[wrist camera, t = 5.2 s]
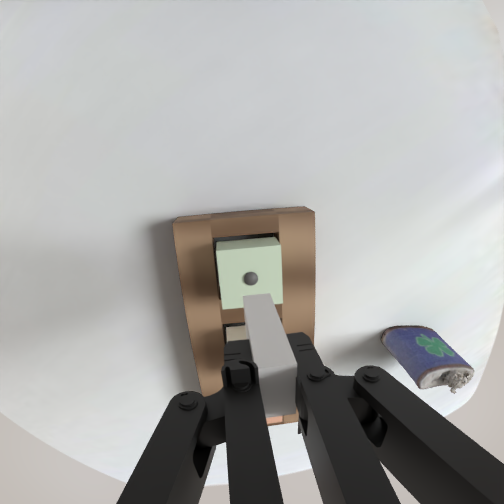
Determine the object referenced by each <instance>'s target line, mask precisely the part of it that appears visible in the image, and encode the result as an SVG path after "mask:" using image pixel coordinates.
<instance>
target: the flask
mask: <svg viewBox="0 0 504 504" xmlns="http://www.w3.org/2000/svg"><path fill="white" fill-rule="evenodd" d="M384 334H385V335H384ZM383 335H384V336H383ZM383 335H382V339H381V341H382V343H383V344H384V346H386V348H387V349H388V350H389V351H390V352H391V354H392V355H393V356H394V357H395V358H396V359H397V360H398V362H399V363H400V365H401V366H402V367H403V368H404V369H405V370H406V371H407V373H408V374H409V375H410V377H411V378H412V379H413V380H414V382H415V383H416V385H417V386H418V388H419V389H427V388H432V387H436V386H441V385H448V386H449V387H452V388H451V390H450V391H451V392H452V393H454V394H455V393H456V391H455V390H456V388H462V387H463V386H465V384H467V383H468V382H469V381H470V380H471V378H472V377H473V375H474V370H473V368H472V367H471V366H470V365H469V364H468V363H467V362H466V361H465V360H464V359H463V358H462V357H460V356H459V355H458V354H457V353H456V352H455V351H454V350H453V349H452V348H451V347H450V346H449V345H448V344H447V343H446V342H445V341H444V340H443V339H442V338H441V337H440V336H439V335H438V334H437V333H436V332H435V331H433V329H430V328H428V327H424V326H394V327H391V328H389V329H386V331H384V333H383Z"/></svg>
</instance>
